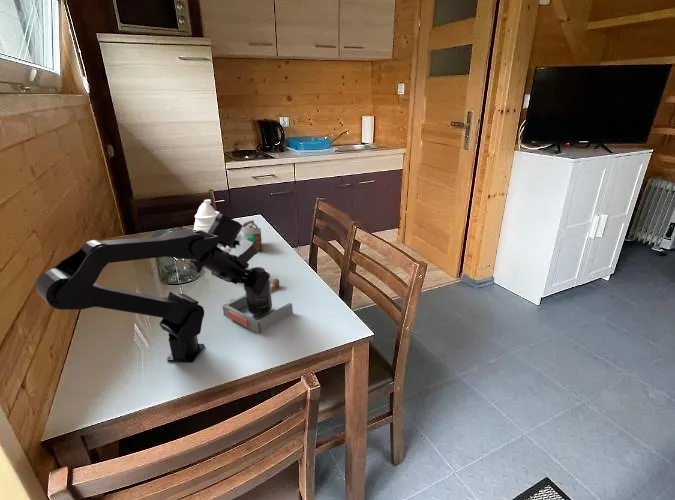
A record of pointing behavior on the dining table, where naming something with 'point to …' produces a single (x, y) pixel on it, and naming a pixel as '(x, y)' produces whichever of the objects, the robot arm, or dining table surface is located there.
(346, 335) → the dining table surface
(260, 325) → the bay
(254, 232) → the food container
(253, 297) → the supplement bottle
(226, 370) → the dining table surface
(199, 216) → the honey pot
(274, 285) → the rail
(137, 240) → the robot arm
